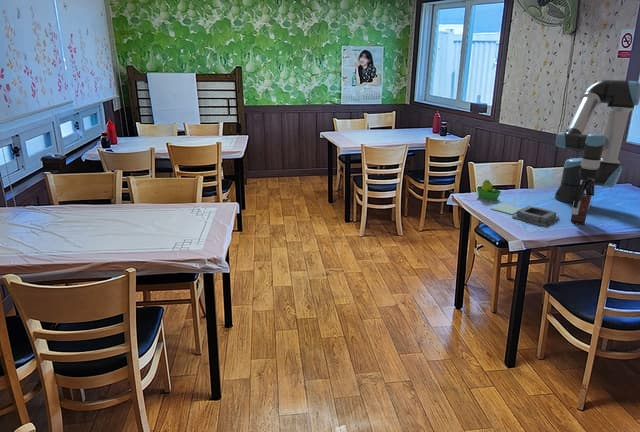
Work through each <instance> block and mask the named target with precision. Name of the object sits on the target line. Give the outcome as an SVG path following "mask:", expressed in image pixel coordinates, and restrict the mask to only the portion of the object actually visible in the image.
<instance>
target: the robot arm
mask: <svg viewBox="0 0 640 432" xmlns="http://www.w3.org/2000/svg"><path fill="white" fill-rule="evenodd" d="M639 103H640V82H639V81H637V80H623V79H622V80H621V79H619V80H618V79H617V80H615V79H612V80H611V79H603V80H599V81H597V82H595V83H593V84H591V85H590V86H589V87H587V88H586V89H584V91H583V92H582V93H581V95H580V98H579V105H578V106H577V108H576V110H575V112H574V114H573V115H572V118H571V119H570V122H569V124H568V125H567V127H566V130H565V131H562V132H561V131H560V132H559V133H557V136H556V138H555V146H556V147H558V148H561V149H565V150H566V149H569V150H577V151H583V153H582V157H573V158H569V159H566V160H565V163H564V165H563V169H562V174H561V180H560V185H559V187H558V188H557V190H556V192H555V194H554V198H555V200H556V201H560V202H564V203H570V204H572V207H571V212H570V214H571V215H572V214H576V215H578V211H579V207H580V202H581V201H580V199H581V197H582V195H583V194H587V195H590V196H591V198H592V197H594V196H595V186H600V187H602V188H604V187H605V188H613V187H615V186H616V185H617V182H618V181H619V179H620V176H621V174H622V170H623V166H622V165H620V164H621V162H620V161H619V159H618V158H619V155H620V151H621V146H622V143H623V137H624V135H625V131H626V126H627V122H628V118H629V115H630V112H632V111H633V110H634V109H635V106H636V107H637V106H639ZM600 104H607V105H606V107H607V109H608V111H609V112H608V116H607V120H606V125H605V129H604V134H601V133H589V134H583V133H584V131H585V129H586V127H587V125H588V123H589V122H590V119H591V117H592V115H593V114H594V111H595V110H596V107H598V106H599V105H600ZM591 202H592V199H591V200H590V203H589V206H588V210H589V209H590V205H591Z"/></svg>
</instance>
